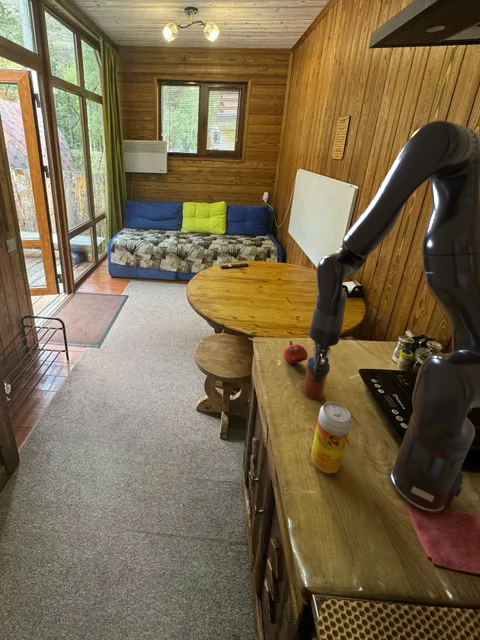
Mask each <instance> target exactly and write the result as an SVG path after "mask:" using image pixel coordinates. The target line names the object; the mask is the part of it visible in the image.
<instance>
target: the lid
mask: <svg viewBox="0 0 480 640" xmlns="http://www.w3.org/2000/svg"><path fill="white" fill-rule="evenodd" d="M316 359H317V357H316ZM314 367H315V362H314V356H311V357H309V358H307V362H306V370H307V369H308V370H309V371H310V372H311V373H313V374H314ZM330 367H331V366H330V364H329V362H328V364H327V368H326V372H325V375H327V376H328V374H329V373H330V369H331V368H330Z"/></svg>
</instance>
